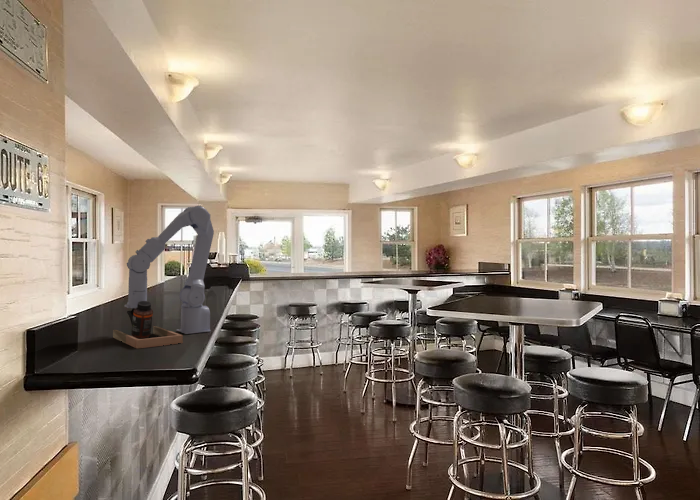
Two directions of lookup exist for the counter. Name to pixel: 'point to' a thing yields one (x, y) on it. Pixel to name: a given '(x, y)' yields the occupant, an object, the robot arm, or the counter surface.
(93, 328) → the counter surface
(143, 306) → the supplement bottle
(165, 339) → the bay
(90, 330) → the counter surface
